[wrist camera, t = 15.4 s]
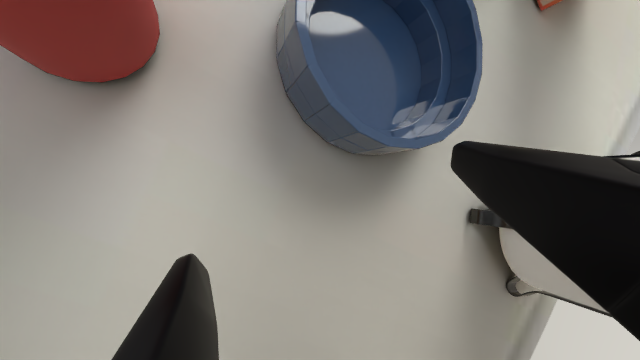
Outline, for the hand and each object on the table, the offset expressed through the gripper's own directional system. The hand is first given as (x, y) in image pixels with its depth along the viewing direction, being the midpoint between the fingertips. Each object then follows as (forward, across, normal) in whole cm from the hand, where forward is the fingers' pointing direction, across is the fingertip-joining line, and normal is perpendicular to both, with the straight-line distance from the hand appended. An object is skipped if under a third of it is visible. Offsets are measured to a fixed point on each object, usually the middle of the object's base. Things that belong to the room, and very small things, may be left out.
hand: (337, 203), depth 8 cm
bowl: (+13, -8, 0) cm, 15 cm away
